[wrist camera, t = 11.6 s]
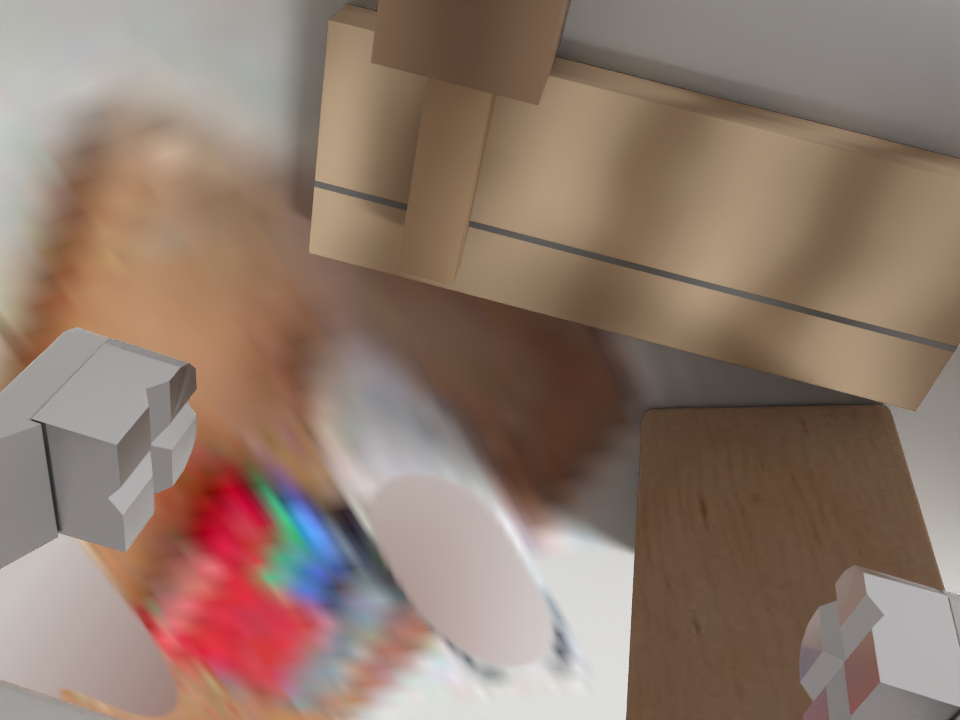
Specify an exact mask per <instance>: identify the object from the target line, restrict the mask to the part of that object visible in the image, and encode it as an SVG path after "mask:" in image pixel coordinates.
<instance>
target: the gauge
mask: <svg viewBox="0 0 960 720" xmlns="http://www.w3.org/2000/svg"><path fill="white" fill-rule="evenodd" d="M570 1H571V0H378V7H377V15H376V24H375V32H374V41H373V49H372V58H371V63H374V64H378V65H382V66H386V67H390V68H393V69H397V70H401V71H405V72H409V73H413V74H417V75H421V76H425V77H428V80H427V87H426V93H425V99H424V106H423V112H422V118H421V124H420V131H419V137H418V143H417V150H416V156H415V162H414V168H413V175H412V181H411V187H410V194H409V200H408V206H407V212H406V219H405V225H404V231H403V238H402V244H401V250H400V257H399V263H398V269H397V271H399V272H403V273H407V274H410V275H414V276H418V277H422V278H426V279H429V280H433V281H437V282H441V283H445V284H449V285H453V283H454V280H455V278H456V275H457V272H458V270H459V267H460V265H461V260H462V256H463V251H464V246H465V241H466V236H467V232H468V227H469V222H470V217H471V212H472V208H473V203H474V198H475V193H476V188H477V184H478V179H479V174H480V169H481V164H482V160H483V155H484V150H485V145H486V140H487V136H488V131H489V126H490V121H491V116H492V112H493V107H494V102H495V97H496V95H499V96H503V97H507V98H511V99H515V100H518V101H522V102H526V103H530V104H534V105H539V102H540V99H541V96H542V94H543V91H544V88H545V85H546V82H547V79H548V77H549V74H550V71H551V68H552V65H553V62H554V60H555V57H556V54H557V51H558V48H559V45H560V42H561V38H562V34H563V30H564V26H565V21H566V17H567V13H568V9H569V5H570Z"/></svg>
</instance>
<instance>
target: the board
mask: <svg viewBox="0 0 960 720" xmlns="http://www.w3.org/2000/svg"><path fill="white" fill-rule="evenodd" d="M376 15H377V11H373V10H369V9H365V8H361V7H357V6H353V5H349V4H346V5H345V6H343V7H342V8H341V9H340V10H339V11H338V12H337V13H336V14H334V15H333V16H332V17H331V18H330V19H329V20H328V32H327V43H326V55H325V67H324V79H323V90H322V102H321V114H320V126H319V137H318V149H317V161H316V173H315V182H314V196H313V208H312V219H311V231H310V243H309V253H312V254H315V255H319V256H323V257H327V258H331V259H335V260H338V261H342V262H346V263H350V264H354V265H357V266H361V267H365V268H369V269H373V270H377V271H380V272H384V273H388V274H392V275H396V276H400V277H403V278H407V279H411V280H415V281H419V282H423V283H426V284H430V285H434V286H438V287H442V288H446V289H449V290H453V291H457V292H461V293H465V294H469V295H472V296H476V297H480V298H484V299H488V300H492V301H495V302H499V303H503V304H507V305H511V306H515V307H518V308H522V309H526V310H530V311H534V312H538V313H541V314H545V315H549V316H553V317H557V318H561V319H564V320H568V321H572V322H576V323H580V324H584V325H587V326H591V327H595V328H599V329H603V330H606V331H610V332H614V333H618V334H622V335H626V336H629V337H633V338H637V339H641V340H645V341H649V342H652V343H656V344H660V345H664V346H668V347H672V348H675V349H679V350H683V351H687V352H691V353H695V354H698V355H702V356H706V357H710V358H714V359H718V360H721V361H725V362H729V363H733V364H737V365H741V366H744V367H748V368H752V369H756V370H760V371H764V372H767V373H771V374H775V375H779V376H783V377H787V378H790V379H794V380H798V381H802V382H806V383H810V384H813V385H817V386H821V387H825V388H829V389H833V390H836V391H840V392H844V393H848V394H852V395H855V396H859V397H863V398H867V399H871V400H875V401H878V402H882V403H886V404H890V405H894V406H898V407H901V408H905V409H909V410H913V411H916V410H917V408H918V407H919V405H920V404H921V402H922V400H923V399H924V397H925V396H926V394H927V393H928V391H929V390H930V388H931V386H932V385H933V383H934V382H935V380H936V379H937V377H938V375H939V374H940V372H941V371H942V369H943V368H944V366H945V365H946V363H947V361H948V360H949V358H950V357H951V355H952V354H953V352H954V351H955V350H956V348H957V346H958V344H959V343H960V159H959V158H955V157H951V156H947V155H943V154H939V153H935V152H931V151H927V150H923V149H919V148H915V147H911V146H907V145H903V144H899V143H895V142H891V141H887V140H883V139H880V138H876V137H872V136H868V135H864V134H860V133H856V132H852V131H848V130H844V129H840V128H836V127H832V126H828V125H824V124H820V123H816V122H812V121H808V120H804V119H800V118H796V117H792V116H788V115H784V114H781V113H777V112H773V111H769V110H765V109H761V108H757V107H753V106H749V105H745V104H741V103H737V102H733V101H729V100H725V99H721V98H717V97H713V96H709V95H705V94H701V93H697V92H693V91H689V90H686V89H682V88H678V87H674V86H670V85H666V84H662V83H658V82H654V81H650V80H646V79H642V78H638V77H634V76H630V75H626V74H622V73H618V72H614V71H610V70H606V69H602V68H598V67H594V66H590V65H587V64H583V63H579V62H575V61H571V60H567V59H563V58H559V57H555V60H554V62H553V65H552V68H551V71H550V74H549V77H548V79H547V82H546V85H545V88H544V91H543V94H542V96H541V99H540V102H539V105H534V104H530V103H526V102H522V101H518V100H515V99H511V98H507V97H503V96H499V95H496V97H495V102H494V107H493V112H492V116H491V121H490V126H489V131H488V136H487V140H486V145H485V150H484V155H483V160H482V164H481V169H480V174H479V179H478V184H477V188H476V193H475V198H474V203H473V208H472V212H471V217H470V222H469V227H468V232H467V236H466V241H465V246H464V251H463V256H462V260H461V265H460V267H459V270H458V272H457V275H456V278H455V280H454V283H453V285H449V284H445V283H441V282H437V281H433V280H429V279H426V278H422V277H418V276H414V275H410V274H407V273H403V272H399V271H397V269H398V263H399V257H400V250H401V244H402V238H403V231H404V225H405V219H406V212H407V206H408V200H409V194H410V187H411V181H412V175H413V168H414V162H415V156H416V150H417V143H418V137H419V131H420V124H421V118H422V112H423V106H424V99H425V93H426V87H427V80H428V77H425V76H421V75H417V74H413V73H409V72H405V71H401V70H397V69H393V68H390V67H386V66H382V65H378V64H374V63H371V58H372V49H373V41H374V32H375V24H376Z"/></svg>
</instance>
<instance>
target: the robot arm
mask: <svg viewBox="0 0 960 720" xmlns="http://www.w3.org/2000/svg"><path fill="white" fill-rule="evenodd" d="M196 389H197V387H196V368H194V367H193V366H192V365H191V364H189V363H187V362H184V361H181V360H178V359H175V358H172V357H169V356H165V355H162V354H159V353H156V352H153V351H150V350H147V349H144V348H141V347H138V346H135V345H132V344H129V343H126V342H123V341H120V340H117V339H111V338H108V337H105V336H102V335H99V334H96V333H93V332H90V331H87V330H84V329H81V328H78V327H77V328H74V329H71V330H67V331H65V332H64V333H63V334H61V335H60V336H59V337H58V338H57V339H56V340H55V341H54V342H53V343H52V344H51V345H50V346H49V347H48V348H47V349H46V350H45V351H44V352H43V353H41V354H40V355H39V356H38V357H37V358H36V359H35V360H34V361H33V362H32V363H31V364H30V365H29V366H28V367H27V368H26V369H25V370H24V371H22V372H21V373H20V374H19V375H18V376H17V377H16V378H15V379H14V380H13V381H12V382H11V383H10V384H9V385H8V386H7V387H6V388H5V389H4V390H2V391H1V392H0V569H1V568H3V567H4V566H6V565H8V564H10V563H12V562H14V561H15V560H17V559H19V558H21V557H23V556H24V555H26V554H28V553H30V552H31V551H34V550H35V549H37V548H39V547H41V546H43V545H44V544H46V543H48V542H50V541H52V540H53V539H55V538H57V537H58V533H60V534H64V535H67V536H71V537H74V538H78V539H81V540H85V541H88V542H92V543H95V544H99V545H102V546H106V547H109V548H113V549H116V550H119V551H123V552H126V551H127V550H128V549H129V547H130V546H131V544H132V543H133V542H134V540H135V539H136V537H137V536H138V535H139V533H140V532H141V530H142V529H143V528H144V526H145V525H146V523H147V522H148V521H149V519H150V518H151V516H152V515H153V514H154V494H156V493H158V492H161V491H163V490H165V489H168V488H170V487H172V486H173V485H174V484H175V482H176V481H177V479H178V478H179V476H180V475H181V473H182V472H183V470H184V468H185V466H186V464H187V461H188V459H189V457H190V454H191V452H192V449H193V446H194V441H195V436H196V431H197V415H196V414H195V413H194V411H193V410H192V408H191V407H190V405H189V404H188V402H187V401H188V400H189V398H190V397H191V396H192V394H193V393H194V392H195V390H196ZM835 587H836V596H837V600H836V601H833V602H831V603H828V604H825V605H822V606H820V607H818V609H817V611H816V612H815V614H814V615H813V617H812V618H811V620H810V621H809V623H808V625H807V628H806V631H805V634H804V637H803V640H802V644H801V650H800V659H799V671H800V683H801V684H802V686H803V687H804V689H805V690H806V692H807V693H808V695H809V696H810V698H811V699H812V701H813V703H812V704H811V705H810V707H809V708H808V709H807V711H806V712H805V713H804V715H803V716H802V718H803V720H960V595H957V594H953V593H950V592H946V591H943V590H937V589H935V588H932V587H928V586H925V585H922V584H918V583H915V582H911V581H908V580H904V579H901V578H898V577H894V576H891V575H887V574H884V573H881V572H877V571H874V570H870V569H867V568H864V567H860V566H857V565H853V566H852V567H850V568H848V569H847V570H845V571H844V573H843V574H842V575H841V577H840V578H839V579H838V581H837V582H836V583H835ZM0 720H121V719H118V718H115V717H112V716H109V715H106V714H103V713H100V712H97V711H94V710H91V709H88V708H85V707H82V706H79V705H76V704H73V703H69V702H66V701H63V700H60V699H57V698H54V697H51V696H48V695H45V694H42V693H39V692H36V691H33V690H30V689H27V688H24V687H21V686H18V685H15V684H12V683H9V682H6V681H3V680H0Z"/></svg>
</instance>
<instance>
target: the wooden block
mask: <svg viewBox="0 0 960 720" xmlns="http://www.w3.org/2000/svg"><path fill="white" fill-rule="evenodd" d="M853 565H857V566H860V567H864V568H867V569H870V570H874V571H877V572H881V573H884V574H887V575H891V576H894V577H898V578H901V579H904V580H908V581H911V582H915V583H918V584H922V585H925V586H928V587H932V588H935V589H937V590H943V591H945V589H944V585H943V582H942V579H941V575H940V572H939V569H938V565H937V562H936V559H935V556H934V552H933V549H932V546H931V542H930V539H929V536H928V532H927V529H926V526H925V522H924V519H923V516H922V513H921V509H920V506H919V503H918V499H917V496H916V493H915V489H914V486H913V483H912V479H911V476H910V473H909V470H908V466H907V463H906V460H905V456H904V453H903V450H902V446H901V443H900V440H899V437H898V433H897V430H896V427H895V423H894V420H893V417H892V414H891V412H890V410H889V409H888V408H887V407H886V406H882V405H828V406H778V407H728V408H678V409H652V410H649V411H646V413H645V414H644V417H643V419H642V422H641V442H640V461H639V480H638V500H637V519H636V539H635V558H634V577H633V597H632V616H631V636H630V655H629V674H628V694H627V713H626V720H803V718H802V716H803V715H804V713H805V712H806V711H807V709H808V708H809V707H810V705H811V704H812V703H813V701H812V699H811V698H810V696H809V695H808V693H807V692H806V690H805V689H804V687H803V686H802V684H801V683H800V671H799V659H800V650H801V644H802V640H803V637H804V634H805V631H806V628H807V625H808V623H809V621H810V620H811V618H812V617H813V615H814V614H815V612H816V611H817V609H818V607H820V606H822V605H825V604H828V603H831V602H833V601H836V600H837V596H836V587H835V583H836V582H837V581H838V579H839V578H840V577H841V575H842V574H843V573H844V571H845V570H847V569H848V568H850V567H852V566H853Z"/></svg>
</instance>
